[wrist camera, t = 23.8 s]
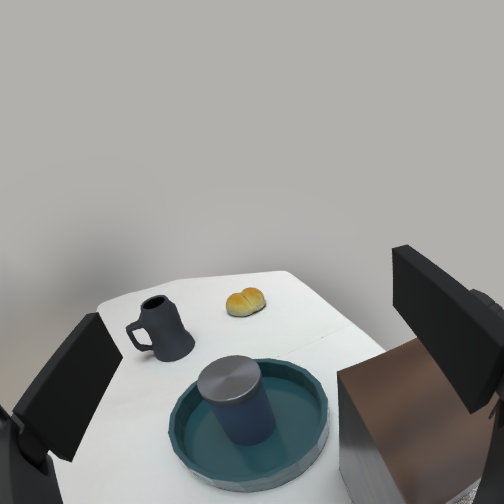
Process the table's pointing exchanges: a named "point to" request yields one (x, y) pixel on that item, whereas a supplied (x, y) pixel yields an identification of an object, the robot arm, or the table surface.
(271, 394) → the round teal tray
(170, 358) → the mug
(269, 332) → the table surface
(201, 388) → the tin
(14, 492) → the robot arm
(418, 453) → the brown wooden block
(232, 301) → the bread roll
